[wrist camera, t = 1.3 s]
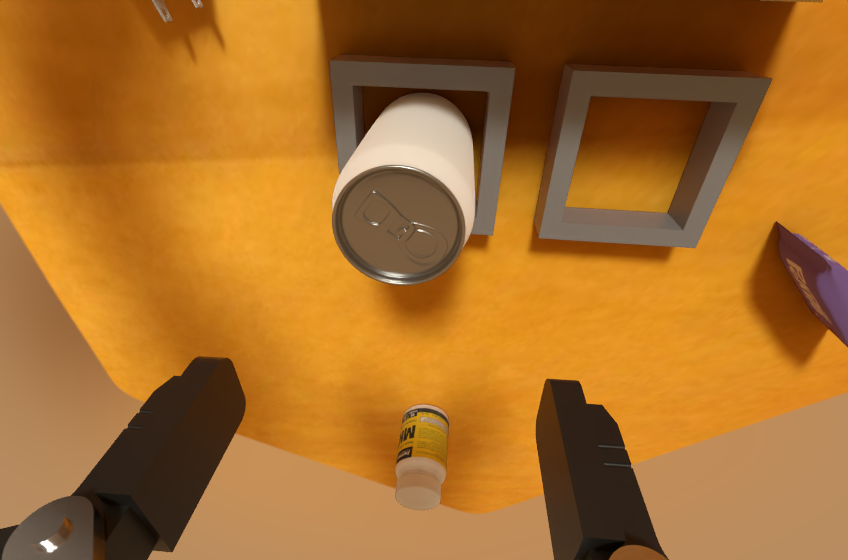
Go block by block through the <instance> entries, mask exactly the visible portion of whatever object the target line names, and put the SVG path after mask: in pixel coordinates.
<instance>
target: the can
mask: <svg viewBox="0 0 848 560" xmlns="http://www.w3.org/2000/svg"><path fill="white" fill-rule="evenodd" d="M332 208H333V213H332V228H333V233H334V237H335V240H336V243H337V245H338V247H339V249H340V251H341V252H342V254H343V255H344V257H345V258H346V259H347V260H348V261H349V262H350V263H351V264H352V265H353V266H354V267H355V268H356V269H357V270H359V271H360V272H361V273H363V274H365V275H366V276H368V277H370V278H372V279H374V280H377V281H380V282H383V283H387V284H392V285H404V286H405V285H416V284H421V283H424V282H427V281H430V280H432V279H434V278H436V277H438V276H440V275H441V274H443V273H444V272H445V271H447V270H448V269H449V268H450V267H451V266H452V265H453V263H454V262H455V261H456V259H457V258H458V256H459V254H460V252H461V250H462V248H463V247H464V246H465V244H466V242H467V241H468V239H469V236H470V234H471V231H472V228H473V223H474V217H475V182H474V156H473V140H472V134H471V130H470V127H469V124H468V122H467V120H466V118H465V117H464V115H463V114H462V112H461V111H460V110H459V109H458V108H457V107H456V106H455V105H454V104H453V103H451V102H450V101H448V100H447V99H445V98H443V97H441V96H438V95H435V94H431V93H412V94H408V95H405V96H402V97H400V98H398V99H396V100H395V101H393V102H392V103H391V104H389V105H388V106H387V107H386V108H385V109H384V111H383V112H382V113H381V114H380V116H379V117H378V118H377V120H376V121H375V123H374V124H373V125H372V127H371V128H370V130H369V131H368V133H367V134H366V135H365V137H364V138H363V140H362V141H361V143H360V144H359V146H358V147H357V149H356V150H355V152H354V153H353V155H352V156H351V158H350V159H349V161H348V162H347V164H346V165H345V167H344V168H343V170H342V172H341V174H340V176H339V178H338V180H337V183H336V185H335V189H334V193H333V201H332Z"/></svg>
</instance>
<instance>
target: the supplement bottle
mask: <svg viewBox="0 0 848 560" xmlns="http://www.w3.org/2000/svg"><path fill="white" fill-rule="evenodd" d="M448 429H449V419H448V416H447V415H446V413H445V412H444V411H443V410H441V409H440V408H438V407H435V406H432V405H426V404H421V405H415V406H413V407H410V408H409V409H408V410H407V411H406V412H405V414H404V416H403V422H402V428H401V434H400V441H399V447H398V454H397V460H396V466H395V474H396V477H397V479H398V480H397V483H396V494H395V497H396V500H397V501H398V502H399V503H400V504H401V505H403V506H404V507H407V508H410V509H415V510H429V509H432V508H435V507H436V506H438V505H439V503H440V501H441V490H442V488H441V487H442V485H441V484H442V483H443V482H444V480H445V477H446V469H447V447H448Z"/></svg>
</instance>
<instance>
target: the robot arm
mask: <svg viewBox="0 0 848 560" xmlns="http://www.w3.org/2000/svg"><path fill="white" fill-rule="evenodd" d="M245 404H246V402H245V396H244V393H243V390H242V387H241V385H240V382H239V379H238V376H237V374H236V371H235V368H234V365H233V363H232V361H231V360H230V359H228V358H217V357H197V358H195V359H194V360H193V361H192V362H191V363H190V364H189V366H188V367H187V368H186V370H185V371H184V372H183V374H182V375H181V376H174V377H172V378H171V379H170V380H168V381H167V382H166V383H164V384H163V385H162V386H160V387H159V388H158V389H156V390H155V391H154V392H153V393H152V395H151V396H150V397H149V398H148V400H147V401H146V402H145V404H144V405H143V406H142V407H141V409H140V412H139V413H137V414H136V415H135V416H134V418H133V419H132V420H131V421H130V423H129V424H128V428H127V429H124V430H123V432H122V433H121V434H120V435H119V437H118V438H117V439H116V440H115V442H114V443H113V444H112V445H111V447H110V448H109V449H108V451H107V452H106V453H105V455H104V456H103V457H102V458H101V459H100V461H99V462H98V463H97V465H96V466H95V467H94V468H93V470H92V471H91V472H90V474H89V475H88V476H87V477H86V479H85V480H84V481H83V483H82V484H81V485H80V486H79V487H78V488H77V490H76V491H75V492H74V493H73V494H72V495H71V496H67V497H64V498H60V499H57V500H54V501H52V502H50V503H48V504H46V505H44V506H42V507H41V508H39V509H37V510H36V511H35V512H33V513H32V514H31V515H29V516H28V517H27V518H26V519H25V520H24V521H23V522H22V523H21V524H20V525H16V526H11V527H7V528H3V529H0V560H147V559H148V557H149V555H150V554H151V552H152V550H154V551H165V552H173V550H174V548H175V546H176V544H177V542H178V540H179V539H180V537H181V535H182V533H183V531H184V529H185V527H186V525H187V523H188V521H189V520H190V518H191V516H192V514H193V512H194V510H195V508H196V506H197V504H198V503H199V501H200V499H201V497H202V495H203V493H204V491H205V489H206V487H207V485H208V484H209V482H210V480H211V478H212V476H213V474H214V472H215V470H216V468H217V467H218V465H219V463H220V461H221V459H222V457H223V455H224V453H225V451H226V449H227V447H228V446H229V444H230V442H231V440H232V438H233V436H234V434H235V432H236V431H237V429H238V427H239V425H240V423H241V421H242V419H243V416H244V412H245ZM536 443H537V450H538V456H539V463H540V469H541V476H542V482H543V489H544V495H545V502H546V509H547V515H548V521H549V528H550V535H551V541H552V548H553V554H554V560H669V559H668V558H667V556H666V555H665V554H664V552H663V550H662V548H661V547H660V544H659V542H658V540H657V537H656V535H655V531H654V529H653V526H652V523H651V520H650V517H649V514H648V511H647V508H646V505H645V502H644V500H643V497H642V494H641V491H640V488H639V485H638V482H637V480H636V477H635V474H634V471H633V469H632V468H631V462H630V459H629V456H628V453H627V450H625V445H624V442H623V439H622V436H621V433H620V430H619V427H618V424H617V423H616V422H615V421H614V419H613V418H612V417H611V416H610V414H609V413H608V412H607V411H606V409H605V408H604V407H603V406H602V405H596V404H586V400H585V397H584V393H583V390H582V387H581V384H580V382H579V381H575V380H558V379H546V381H545V384H544V388H543V393H542V397H541V401H540V406H539V410H538V414H537V419H536Z"/></svg>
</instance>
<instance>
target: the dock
mask: <svg viewBox="0 0 848 560" xmlns="http://www.w3.org/2000/svg"><path fill="white" fill-rule="evenodd" d="M762 1H793V2H822V1H823V0H762ZM329 67H330V78H331V89H332V100H333V111H334V121H335V132H336V143H337V154H338V165H339V176H340V174H341V172H342V170H343V168H344V167H345V165H346V164H347V162H348V161H349V159H350V158H351V156H352V155H353V153H354V152H355V150H356V149H357V147H358V146H359V144H360V143H361V141H362V140H363V138H364V137H365V131H364V112H363V93H362V86H376V87H398V88H421V89H443V90H465V91H487V100H486V109H485V119H484V129H483V138H482V148H481V157H480V167H479V177H478V186H477V196H476V202H475V217H474V223H473V228H472V231H471V234H480V235H493V231H494V224H495V216H496V209H497V202H498V194H499V187H500V180H501V172H502V165H503V157H504V150H505V143H506V135H507V128H508V121H509V113H510V106H511V98H512V91H513V84H514V76H515V69H516V68H515V66H514V65H513V63H512V61H490V60H466V59H441V58H417V57H392V56H368V55H343V54H340V55H338V56H336V57H334V58H332V59H330V60H329ZM771 81H772V79H771V78H768V77H765V76H761V75H758V74H755V73H751V72H748V71H735V70H710V69H686V68H661V67H637V66H613V65H588V64H564V68H563V73H562V79H561V84H560V89H559V94H558V99H557V104H556V109H555V115H554V120H553V125H552V130H551V135H550V140H549V145H548V151H547V156H546V161H545V166H544V171H543V176H542V181H541V187H540V192H539V197H538V202H537V207H536V212H535V217H534V223H535V227H536V230H537V234H538V238H543V239H559V240H574V241H590V242H606V243H622V244H637V245H653V246H669V247H685V248H696V245H697V243H698V241H699V239H700V237H701V235H702V232H703V230H704V228H705V226H706V224H707V221H708V219H709V217H710V215H711V213H712V210H713V208H714V206H715V204H716V202H717V199H718V197H719V195H720V193H721V191H722V188H723V186H724V184H725V182H726V180H727V178H728V175H729V173H730V171H731V169H732V167H733V164H734V162H735V160H736V158H737V156H738V153H739V151H740V149H741V147H742V145H743V142H744V140H745V138H746V136H747V134H748V132H749V129H750V127H751V125H752V123H753V121H754V118H755V116H756V114H757V112H758V110H759V107H760V105H761V103H762V101H763V99H764V96H765V94H766V92H767V90H768V88H769V85H770V83H771ZM591 96H599V97H621V98H644V99H666V100H688V101H710V102H711V104H710V106H709V109H708V112H707V114H706V117H705V119H704V122H703V124H702V127H701V129H700V132H699V135H698V137H697V140H696V142H695V145H694V147H693V150H692V152H691V155H690V158H689V160H688V163H687V165H686V168H685V170H684V173H683V175H682V178H681V180H680V183H679V186H678V188H677V191H676V193H675V196H674V198H673V201H672V203H671V206H670V209H669V211H668V213H657V212H640V211H623V210H606V209H589V208H572V207H565V204H566V200H567V196H568V191H569V187H570V183H571V179H572V174H573V170H574V166H575V162H576V158H577V153H578V149H579V145H580V141H581V136H582V132H583V128H584V124H585V119H586V115H587V111H588V107H589V102H590V98H591Z"/></svg>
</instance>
